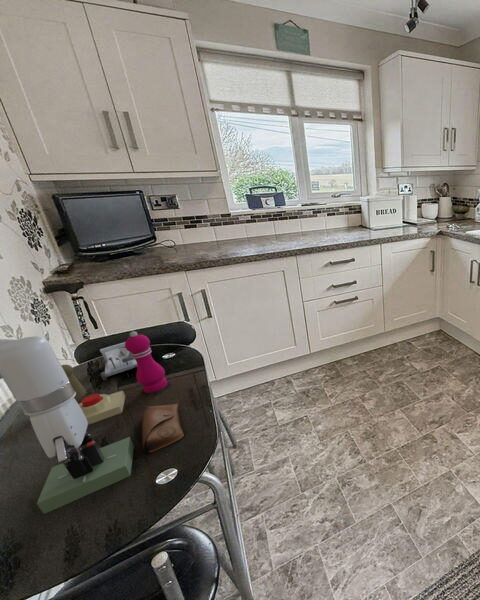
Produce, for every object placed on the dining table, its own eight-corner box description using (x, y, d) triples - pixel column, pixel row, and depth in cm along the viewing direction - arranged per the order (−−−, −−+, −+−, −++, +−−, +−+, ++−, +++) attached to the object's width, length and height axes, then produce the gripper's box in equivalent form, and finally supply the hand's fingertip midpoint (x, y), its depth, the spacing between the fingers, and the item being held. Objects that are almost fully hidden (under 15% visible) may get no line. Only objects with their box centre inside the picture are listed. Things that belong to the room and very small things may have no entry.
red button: (82, 409, 91) (79, 404, 90) (85, 402, 94) (82, 397, 94) (100, 403, 93) (98, 398, 92) (103, 396, 96) (100, 391, 96)
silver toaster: (135, 346, 112) (90, 360, 105) (145, 371, 116) (103, 385, 109) (133, 331, 125) (94, 342, 119) (142, 353, 129) (105, 365, 122)
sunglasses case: (186, 435, 82) (162, 423, 78) (163, 459, 80) (137, 449, 76) (178, 402, 95) (157, 391, 91) (158, 422, 93) (136, 411, 89)
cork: (59, 399, 104) (43, 369, 100) (84, 388, 108) (69, 360, 104) (64, 405, 100) (47, 374, 96) (89, 394, 105) (74, 364, 101)
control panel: (43, 514, 65) (36, 503, 64) (58, 477, 74) (51, 466, 72) (130, 475, 72) (125, 465, 71) (134, 446, 81) (129, 436, 80)
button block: (66, 432, 88) (59, 420, 86) (74, 413, 96) (68, 402, 94) (122, 412, 94) (116, 401, 93) (125, 396, 102) (120, 385, 100)
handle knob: (70, 475, 70) (59, 457, 68) (72, 470, 71) (61, 452, 69) (103, 462, 73) (93, 443, 71) (104, 457, 74) (94, 439, 72)
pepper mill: (145, 397, 100) (119, 339, 93) (140, 388, 105) (115, 333, 98) (171, 385, 105) (149, 329, 98) (166, 377, 110) (144, 324, 103)
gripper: (35, 385, 70) (73, 449, 76) (4, 429, 56) (53, 503, 63) (81, 371, 74) (113, 434, 80) (62, 410, 60) (103, 481, 67)
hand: (86, 463), depth 71 cm, fingers open, 5 cm apart
